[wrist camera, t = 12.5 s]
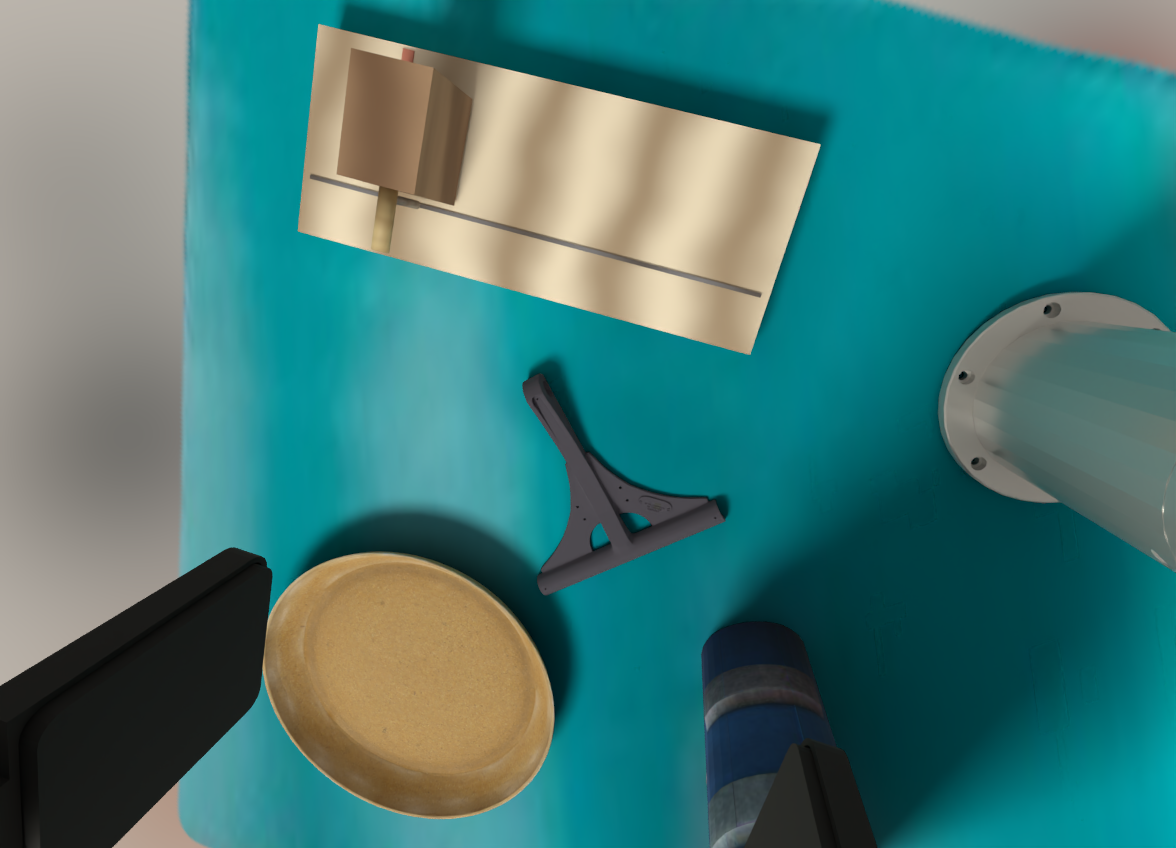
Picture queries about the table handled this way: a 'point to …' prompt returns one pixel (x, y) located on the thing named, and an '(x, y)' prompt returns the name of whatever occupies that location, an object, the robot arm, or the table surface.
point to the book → (753, 720)
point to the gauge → (401, 134)
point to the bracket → (606, 506)
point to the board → (578, 197)
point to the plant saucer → (408, 684)
